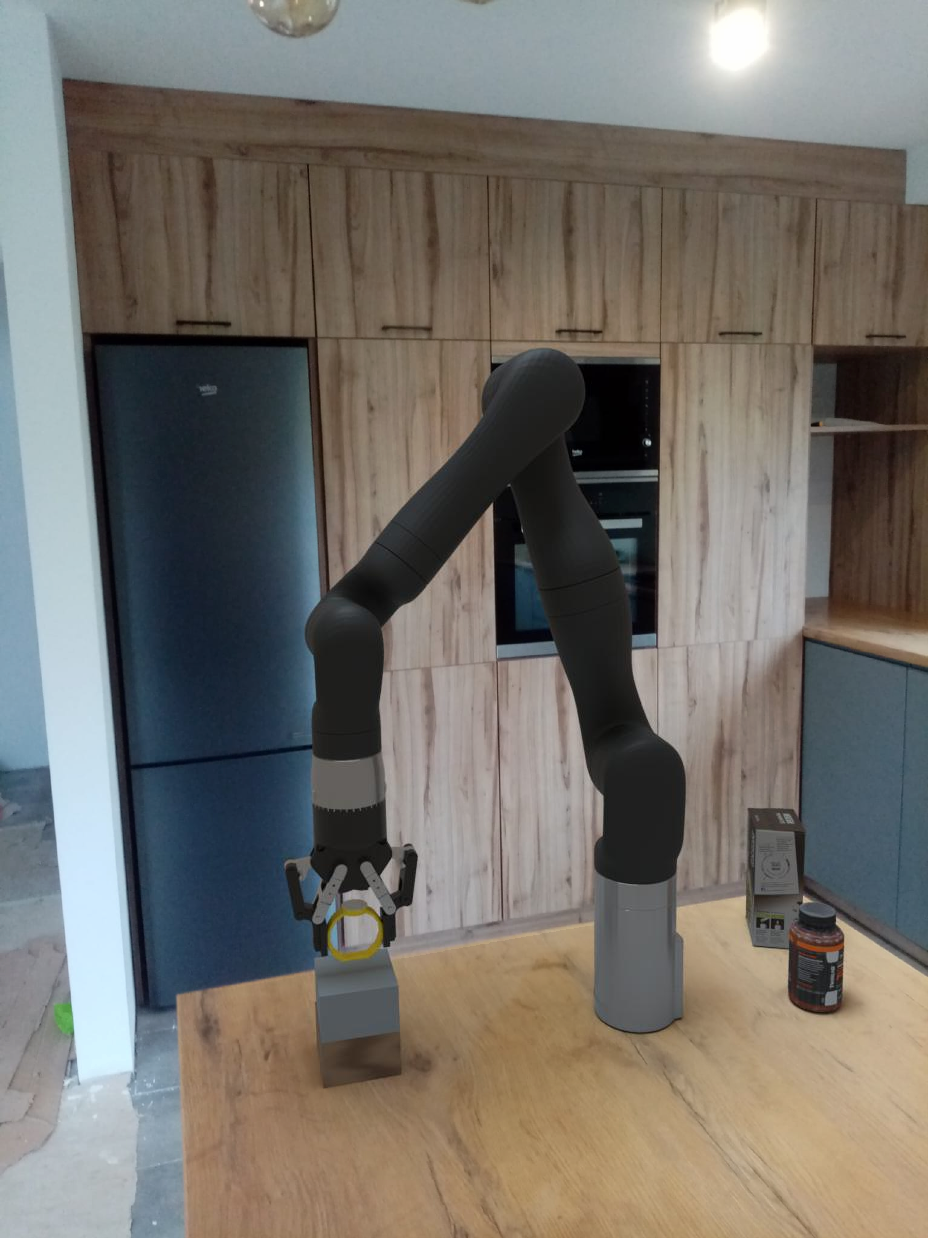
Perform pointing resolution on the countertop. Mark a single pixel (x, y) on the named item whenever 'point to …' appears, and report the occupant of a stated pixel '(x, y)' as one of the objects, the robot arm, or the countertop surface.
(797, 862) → the coffee box
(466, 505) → the robot arm
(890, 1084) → the countertop surface
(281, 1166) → the countertop surface
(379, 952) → the grey block
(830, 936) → the supplement bottle
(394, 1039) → the walnut block
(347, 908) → the watch
